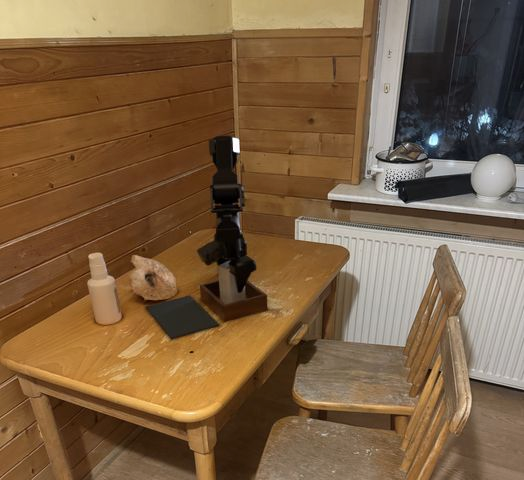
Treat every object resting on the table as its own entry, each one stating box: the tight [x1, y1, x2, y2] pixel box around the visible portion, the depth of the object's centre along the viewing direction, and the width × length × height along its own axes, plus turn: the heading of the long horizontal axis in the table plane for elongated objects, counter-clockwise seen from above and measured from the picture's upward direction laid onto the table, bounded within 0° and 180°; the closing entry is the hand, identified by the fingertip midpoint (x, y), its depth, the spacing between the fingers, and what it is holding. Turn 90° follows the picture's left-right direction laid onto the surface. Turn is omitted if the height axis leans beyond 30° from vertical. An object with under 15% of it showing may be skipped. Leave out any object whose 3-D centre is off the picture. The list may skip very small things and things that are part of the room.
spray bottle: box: [86, 252, 123, 326], centre depth 130 cm, size 7×7×18 cm
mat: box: [145, 295, 220, 340], centre depth 135 cm, size 20×13×1 cm, turn 29°
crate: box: [199, 279, 269, 323], centre depth 139 cm, size 16×13×4 cm
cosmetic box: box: [217, 261, 247, 304], centre depth 137 cm, size 6×4×12 cm
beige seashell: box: [128, 254, 178, 303], centre depth 148 cm, size 18×14×8 cm
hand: (232, 286), depth 137 cm, fingers open, 9 cm apart
